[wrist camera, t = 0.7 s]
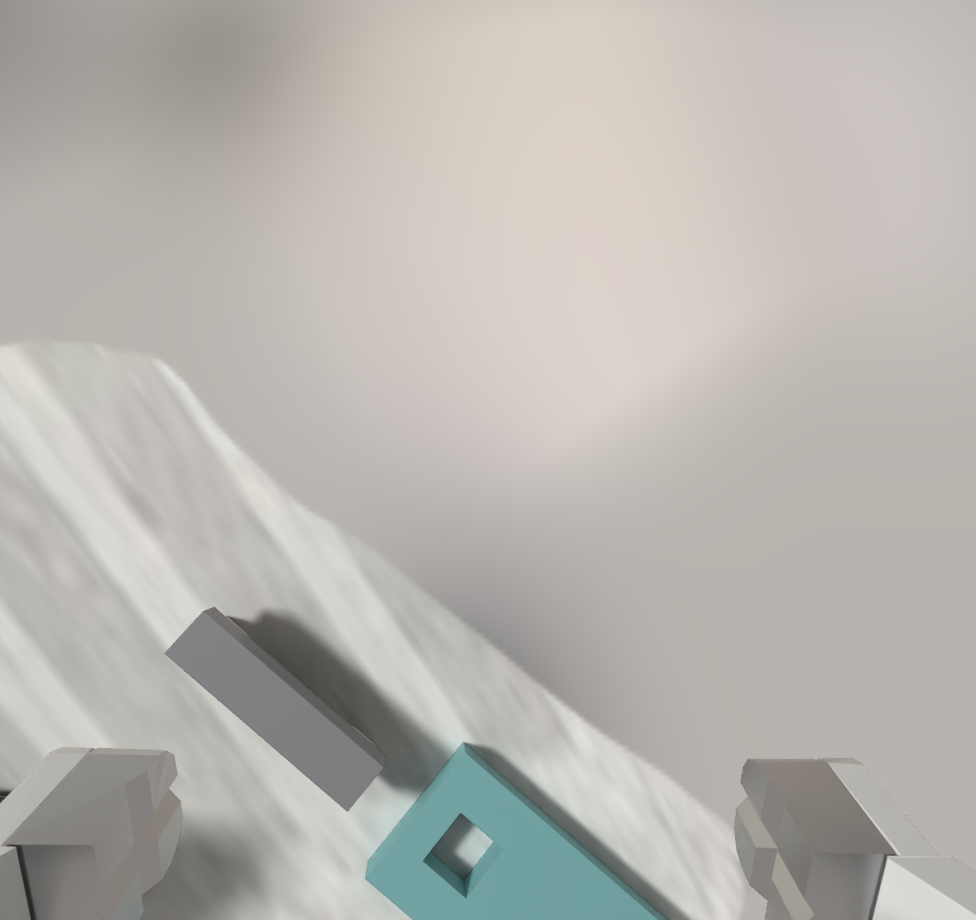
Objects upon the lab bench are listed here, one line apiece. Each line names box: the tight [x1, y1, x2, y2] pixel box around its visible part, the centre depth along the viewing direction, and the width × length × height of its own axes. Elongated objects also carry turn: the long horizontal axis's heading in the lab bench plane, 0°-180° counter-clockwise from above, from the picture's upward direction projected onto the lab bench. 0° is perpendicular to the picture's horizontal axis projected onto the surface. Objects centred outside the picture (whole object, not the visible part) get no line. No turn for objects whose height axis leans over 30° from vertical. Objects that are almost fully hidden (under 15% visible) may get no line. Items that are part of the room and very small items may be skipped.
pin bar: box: [164, 607, 386, 812], centre depth 48 cm, size 18×4×6 cm, turn 49°
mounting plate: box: [365, 743, 667, 920], centre depth 50 cm, size 24×12×2 cm, turn 49°
